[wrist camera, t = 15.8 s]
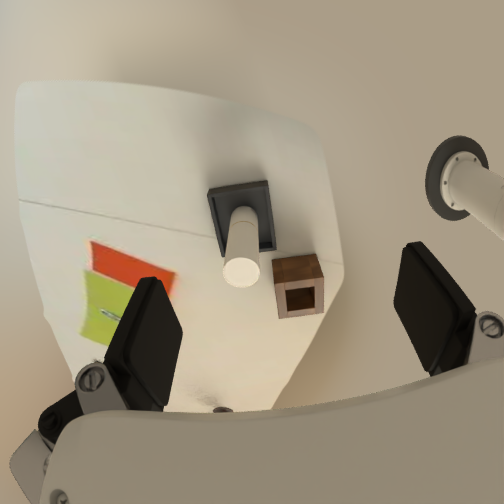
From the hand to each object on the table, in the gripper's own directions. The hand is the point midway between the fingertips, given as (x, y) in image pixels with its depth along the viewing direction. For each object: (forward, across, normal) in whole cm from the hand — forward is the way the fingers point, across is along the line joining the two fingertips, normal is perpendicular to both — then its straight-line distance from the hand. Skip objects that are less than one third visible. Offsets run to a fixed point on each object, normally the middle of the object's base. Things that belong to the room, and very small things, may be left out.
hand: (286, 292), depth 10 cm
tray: (+34, +4, +12) cm, 37 cm away
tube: (+34, +4, +12) cm, 36 cm away
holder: (+34, -3, +25) cm, 43 cm away
